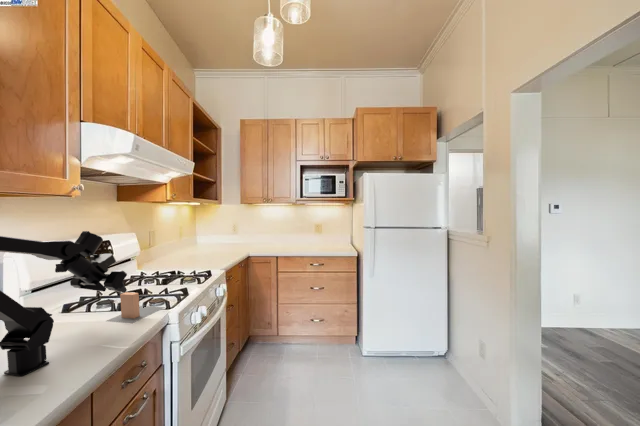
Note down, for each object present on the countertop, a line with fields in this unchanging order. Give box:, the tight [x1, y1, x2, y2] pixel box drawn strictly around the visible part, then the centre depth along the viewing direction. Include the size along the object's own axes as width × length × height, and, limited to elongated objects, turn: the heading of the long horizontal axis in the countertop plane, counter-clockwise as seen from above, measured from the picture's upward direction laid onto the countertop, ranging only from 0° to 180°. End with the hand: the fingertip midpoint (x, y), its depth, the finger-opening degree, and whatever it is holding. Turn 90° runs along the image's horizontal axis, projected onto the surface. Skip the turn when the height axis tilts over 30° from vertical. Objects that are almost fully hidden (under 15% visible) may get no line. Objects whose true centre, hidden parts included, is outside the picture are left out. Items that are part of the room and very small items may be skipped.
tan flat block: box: [119, 291, 140, 318], centre depth 111 cm, size 2×6×9 cm, turn 77°
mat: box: [106, 305, 166, 324], centre depth 114 cm, size 16×12×1 cm
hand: (115, 290), depth 105 cm, fingers open, 9 cm apart
